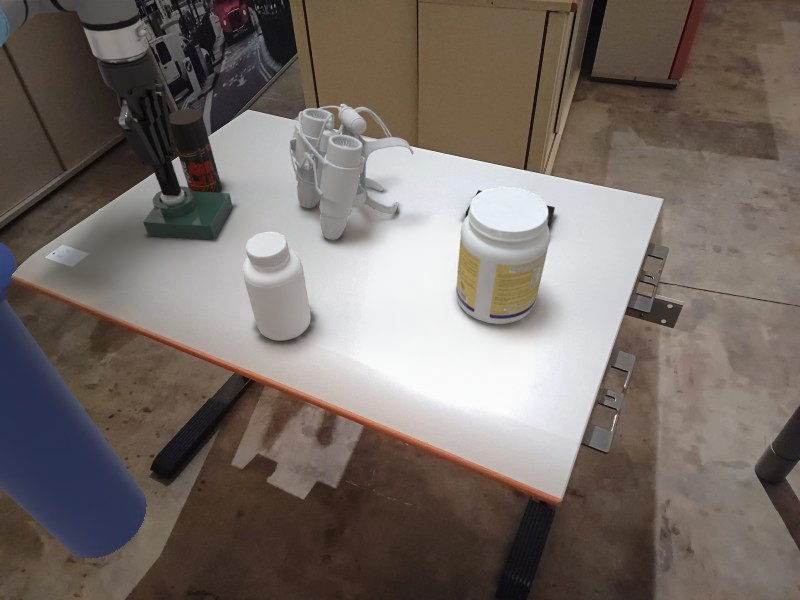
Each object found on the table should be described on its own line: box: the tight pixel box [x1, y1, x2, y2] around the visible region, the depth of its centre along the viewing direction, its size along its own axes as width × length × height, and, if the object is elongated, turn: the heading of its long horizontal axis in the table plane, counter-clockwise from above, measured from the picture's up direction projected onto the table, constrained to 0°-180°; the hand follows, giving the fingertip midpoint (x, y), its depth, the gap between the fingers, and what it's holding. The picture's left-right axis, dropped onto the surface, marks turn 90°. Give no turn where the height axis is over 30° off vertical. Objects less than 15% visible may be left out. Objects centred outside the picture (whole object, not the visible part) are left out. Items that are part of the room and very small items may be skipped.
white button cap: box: [160, 189, 186, 205], centre depth 96 cm, size 4×4×2 cm
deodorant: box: [169, 108, 223, 193], centre depth 101 cm, size 6×6×15 cm
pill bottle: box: [241, 231, 312, 342], centre depth 76 cm, size 8×8×15 cm
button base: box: [142, 185, 234, 241], centre depth 98 cm, size 12×10×5 cm
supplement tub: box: [455, 186, 551, 325], centre depth 79 cm, size 12×12×17 cm
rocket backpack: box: [289, 103, 415, 241], centre depth 96 cm, size 18×19×20 cm
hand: (172, 192), depth 96 cm, fingers closed
